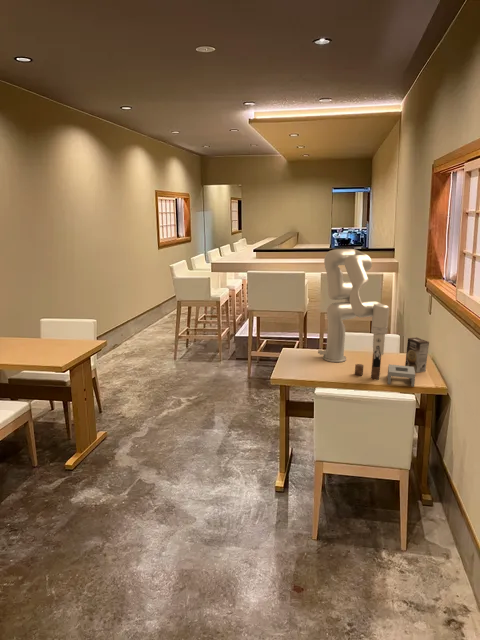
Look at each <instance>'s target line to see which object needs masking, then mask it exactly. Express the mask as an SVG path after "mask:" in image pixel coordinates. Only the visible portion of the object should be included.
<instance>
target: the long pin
mask: <svg viewBox="0 0 480 640" xmlns="http://www.w3.org/2000/svg"><path fill="white" fill-rule="evenodd" d="M376 349H377V348H376ZM375 353H376V351H375ZM380 359H381V360H380V367H373V360H374V353H373V352H372V361H371V371H370V372H371V373H370V374H371V375H370V379H371V378H372V379H371V380H374V379H378V380H380V376H381V373H380V372H381V364H382V354H380Z"/></svg>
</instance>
